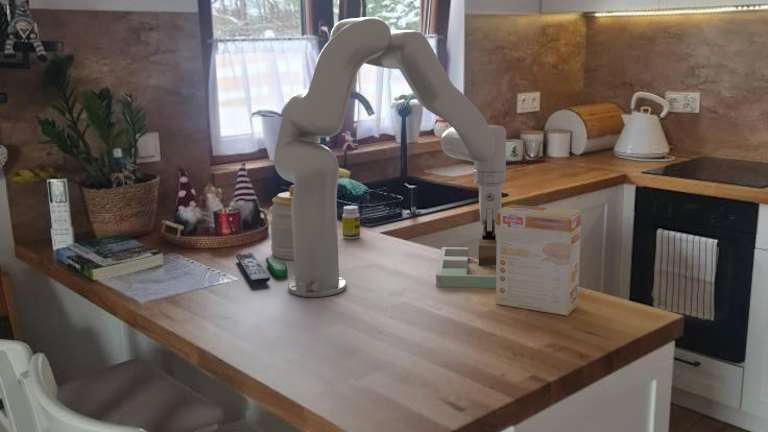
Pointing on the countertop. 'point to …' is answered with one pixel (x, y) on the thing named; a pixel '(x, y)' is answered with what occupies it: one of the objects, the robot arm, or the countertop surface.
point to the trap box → (459, 270)
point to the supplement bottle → (351, 222)
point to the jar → (282, 226)
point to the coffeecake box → (538, 258)
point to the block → (487, 252)
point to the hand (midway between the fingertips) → (488, 250)
